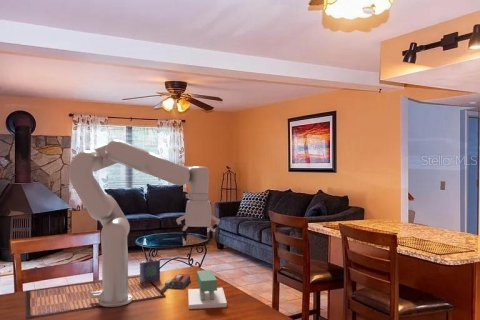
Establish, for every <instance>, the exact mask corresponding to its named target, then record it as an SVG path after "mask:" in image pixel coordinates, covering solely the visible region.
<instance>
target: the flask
mask: <svg viewBox="0 0 480 320" xmlns="http://www.w3.org/2000/svg"><path fill="white" fill-rule="evenodd" d="M160 280H161V260H160V259H156V258H154V259H153V258H151V256H148V257H147V261H141V262H139V282H140V283H141V284H144V283H151V282H155V281H160Z"/></svg>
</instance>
